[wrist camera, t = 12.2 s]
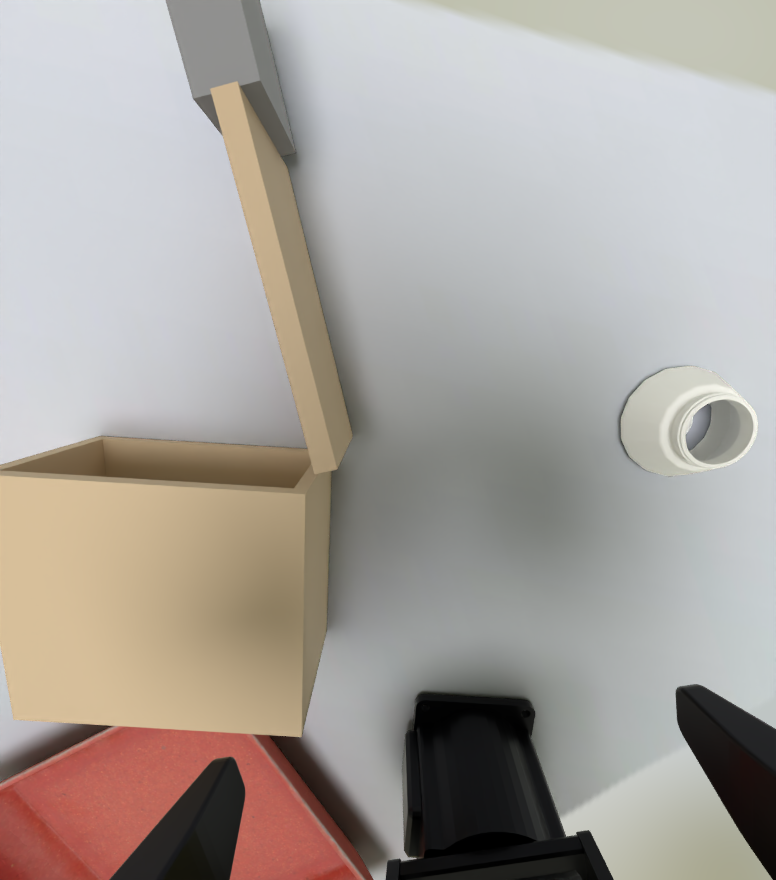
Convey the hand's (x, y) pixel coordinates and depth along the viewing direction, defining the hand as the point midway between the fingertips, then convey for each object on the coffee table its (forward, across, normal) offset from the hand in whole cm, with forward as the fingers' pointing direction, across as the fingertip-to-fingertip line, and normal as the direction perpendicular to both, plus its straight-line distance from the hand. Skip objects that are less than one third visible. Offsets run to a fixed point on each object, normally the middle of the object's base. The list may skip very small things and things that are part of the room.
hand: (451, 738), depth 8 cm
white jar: (+12, -12, -2) cm, 18 cm away
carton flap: (+12, +3, -12) cm, 17 cm away
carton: (+12, +10, 0) cm, 16 cm away
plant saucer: (+13, +17, +17) cm, 27 cm away
